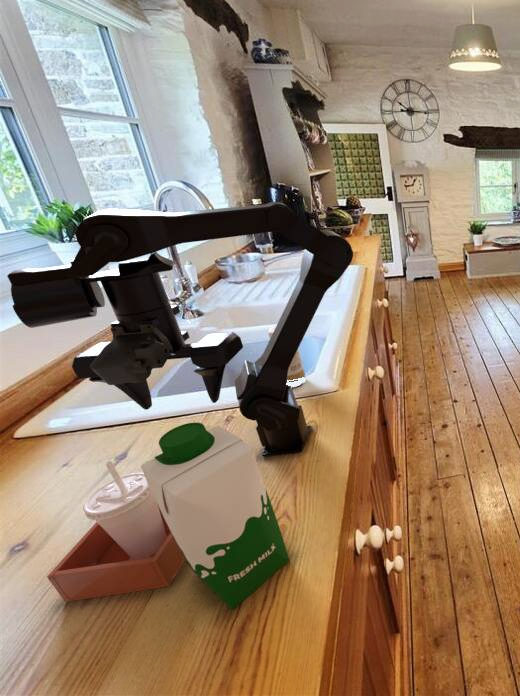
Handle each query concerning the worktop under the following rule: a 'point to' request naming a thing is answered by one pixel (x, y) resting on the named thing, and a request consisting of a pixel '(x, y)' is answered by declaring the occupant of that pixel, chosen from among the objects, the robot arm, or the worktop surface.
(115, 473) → the smoothie
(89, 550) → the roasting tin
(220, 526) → the milk carton
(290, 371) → the sprinkles bottle
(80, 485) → the worktop surface
